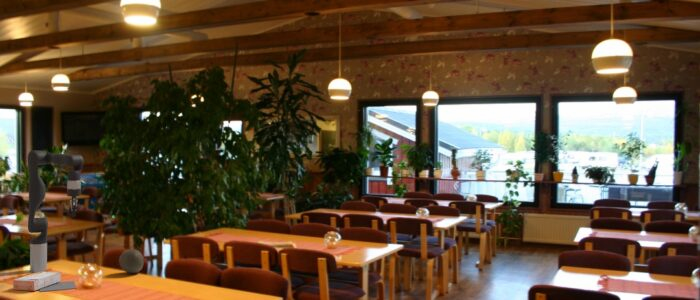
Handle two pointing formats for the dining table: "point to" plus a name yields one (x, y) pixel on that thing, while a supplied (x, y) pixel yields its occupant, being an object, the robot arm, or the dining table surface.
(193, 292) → the dining table surface
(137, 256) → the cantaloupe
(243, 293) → the dining table surface
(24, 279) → the cracker box
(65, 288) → the mat
